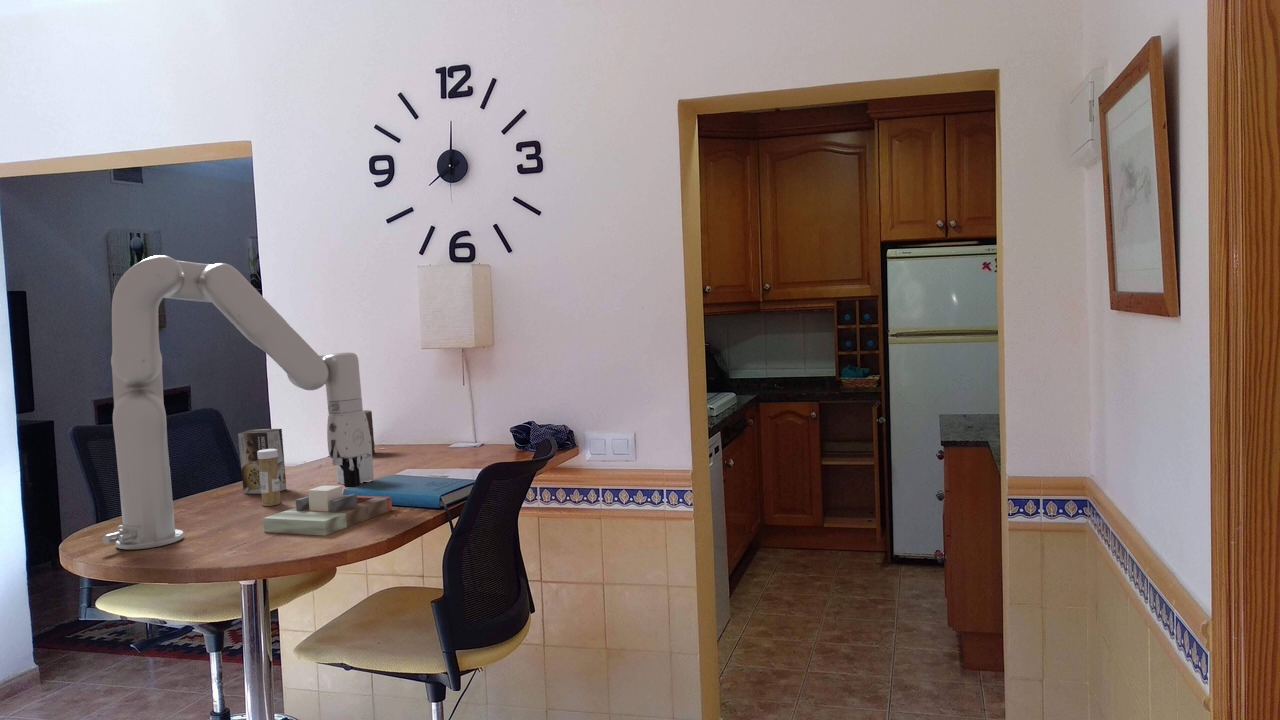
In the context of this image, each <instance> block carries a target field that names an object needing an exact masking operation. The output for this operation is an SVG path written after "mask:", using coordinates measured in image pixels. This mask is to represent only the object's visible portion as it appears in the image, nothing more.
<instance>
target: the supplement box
mask: <svg viewBox="0 0 1280 720" xmlns="http://www.w3.org/2000/svg"><path fill="white" fill-rule="evenodd" d="M370 438H371V436H370ZM346 461H347V460H346ZM373 463H374V462H373V454H372V443H371V451H370V452H369V453H367V456H366V457H365V458H363V459H362V460H361V467H360V468H359V475H360V483H361V484H363V483H362V482H365V481H369V480H373V479H374V480H375V478H374V476H375V475H374V474H375V473H374V464H373ZM335 466H336V479H337V480H336V481H337V483H338V484H341V485H344V475H343V471H342V470H341V467H340V466H339V465H335Z"/></svg>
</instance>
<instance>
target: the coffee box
mask: <svg viewBox="0 0 1280 720" xmlns="http://www.w3.org/2000/svg"><path fill="white" fill-rule="evenodd" d="M237 437H238V447H239V459H240V467H241V469H240V470H241V480H242V490H243V491H242V492H243V494H244V495H247V494H250V495H251V494H255V495H256V494H258V495H262V494H261V486H260V474H259V471H260V470H259V461H258V455H257V452H258V451H259V450H264V449H277V452H278V457H277V463H278V472H279V483H280V492H281V491H284V490H287V480H286V479H287V477H286V467H285V453H284V440H283V430H282V428H262V429H261V428H259V429H258V428H257V429H256V428H254V429H248V430H246V431H245V430H244V431H242V432H238V433H237Z"/></svg>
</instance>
